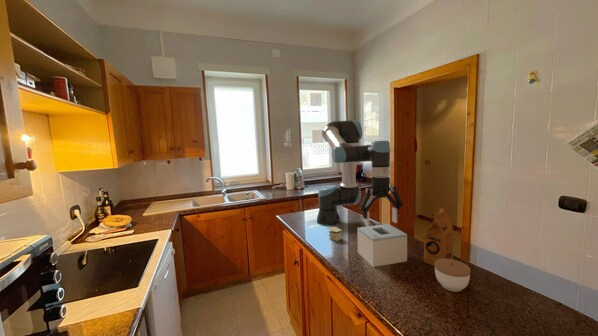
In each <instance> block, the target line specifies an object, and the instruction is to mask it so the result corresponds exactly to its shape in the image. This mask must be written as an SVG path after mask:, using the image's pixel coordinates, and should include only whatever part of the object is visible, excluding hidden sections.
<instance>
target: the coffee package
mask: <svg viewBox="0 0 598 336" xmlns="http://www.w3.org/2000/svg"><path fill="white" fill-rule="evenodd" d="M430 216H431V217H433V218H434V219H433V220H432V223H431V225H430V226H429V227H428V228H427V230H426V231H425V234H424V237H423V262H424V263H425V264H427V265H430V266H431V267H432V266H433V267H435V265H434V263H435V261H436V260H438V259H453V260H454V230H453V229H454V228H453V227H454V226H453V223H452V220H451V219H450V217H449V216H448V214H447V211H446V210H445V208H440V209H439V211H438V212H433V213H432V214H430Z"/></svg>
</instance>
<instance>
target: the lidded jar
mask: <svg viewBox="0 0 598 336" xmlns="http://www.w3.org/2000/svg"><path fill="white" fill-rule="evenodd" d="M434 265H435V266H434V275H435V278H436V280H437V282H438V283H439V284H440V285H441V286H442V288H443V289H445V290H446V291H450V292H454V293H458V292H461V291H462V290H464V289H466V288H467V286H468V285H469V282H470V279H471V272H472V271H471V268H470V266H469V265H468V264H466V263H464V262H462V261H459V260H456V259H454V258H453V259H438V260H436V261H435V263H434Z"/></svg>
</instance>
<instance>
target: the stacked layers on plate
mask: <svg viewBox="0 0 598 336" xmlns="http://www.w3.org/2000/svg"><path fill="white" fill-rule="evenodd" d="M328 233H329V234H328V237H329V240H330V241H331V240H332V241H335V242H338V241H340V240H342V238H343V237H342V229H340V228H339V227H337V226H332V227H330V228H328Z"/></svg>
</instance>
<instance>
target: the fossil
mask: <svg viewBox="0 0 598 336" xmlns="http://www.w3.org/2000/svg"><path fill="white" fill-rule="evenodd" d="M375 225H377V224H375V222H373V220H371V219H369V226H375ZM363 227H367V226H366V225H365V224H364V226H363Z"/></svg>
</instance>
